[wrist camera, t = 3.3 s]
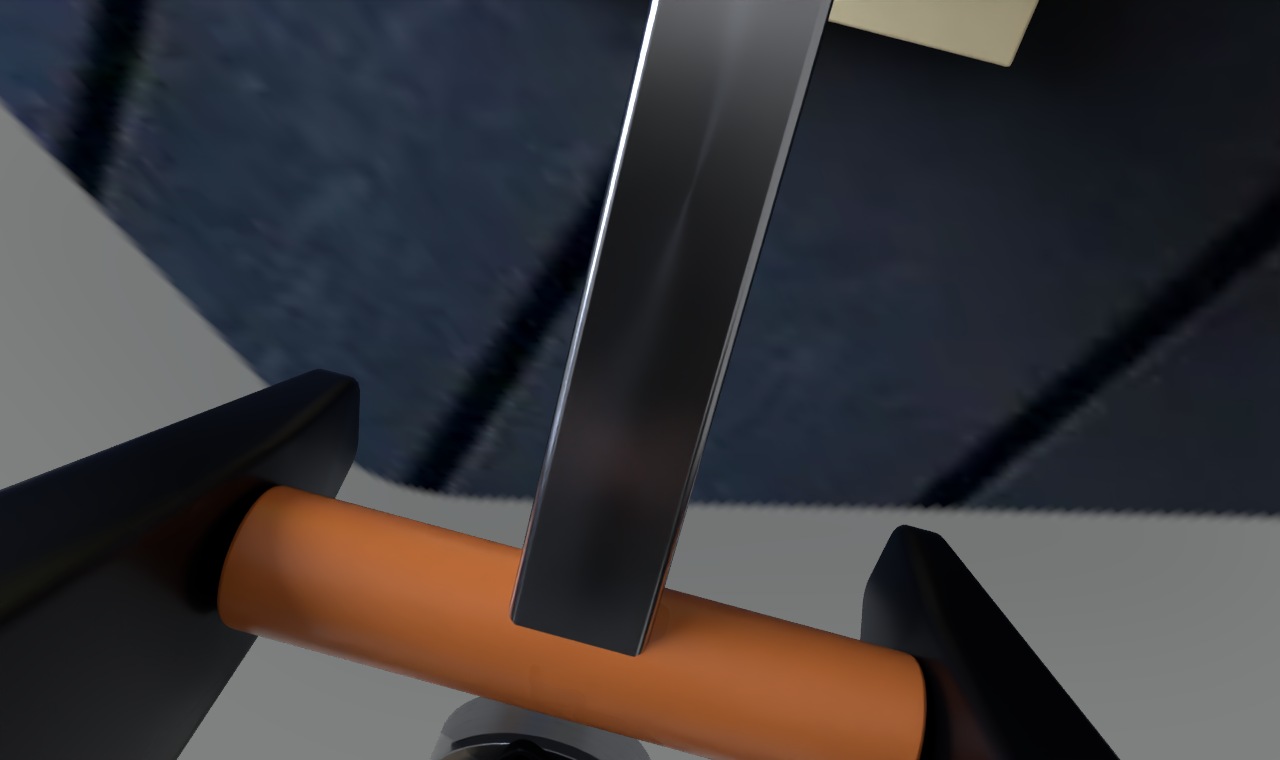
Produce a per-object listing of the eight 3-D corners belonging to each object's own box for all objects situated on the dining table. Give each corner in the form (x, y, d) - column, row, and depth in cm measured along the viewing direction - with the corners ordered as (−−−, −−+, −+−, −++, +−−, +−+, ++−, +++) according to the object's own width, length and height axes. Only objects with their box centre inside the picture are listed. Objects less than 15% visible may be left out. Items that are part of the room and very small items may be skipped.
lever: (855, 699, 8) (905, 909, 6) (310, 551, 9) (158, 703, 6) (1412, -782, 5) (1931, -1470, 3) (547, -984, 5) (422, -1794, 3)
